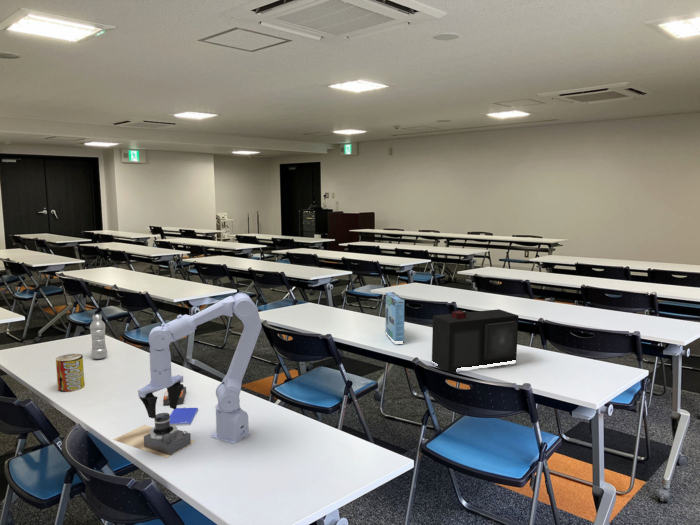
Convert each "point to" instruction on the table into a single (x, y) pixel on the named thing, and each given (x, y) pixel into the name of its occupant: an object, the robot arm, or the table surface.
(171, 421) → the hard drive
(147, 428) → the cork mat
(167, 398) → the electronic device
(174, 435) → the block with segmented ring
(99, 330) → the plastic bottle
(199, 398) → the table surface
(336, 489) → the table surface
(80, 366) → the tin can
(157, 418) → the lens
